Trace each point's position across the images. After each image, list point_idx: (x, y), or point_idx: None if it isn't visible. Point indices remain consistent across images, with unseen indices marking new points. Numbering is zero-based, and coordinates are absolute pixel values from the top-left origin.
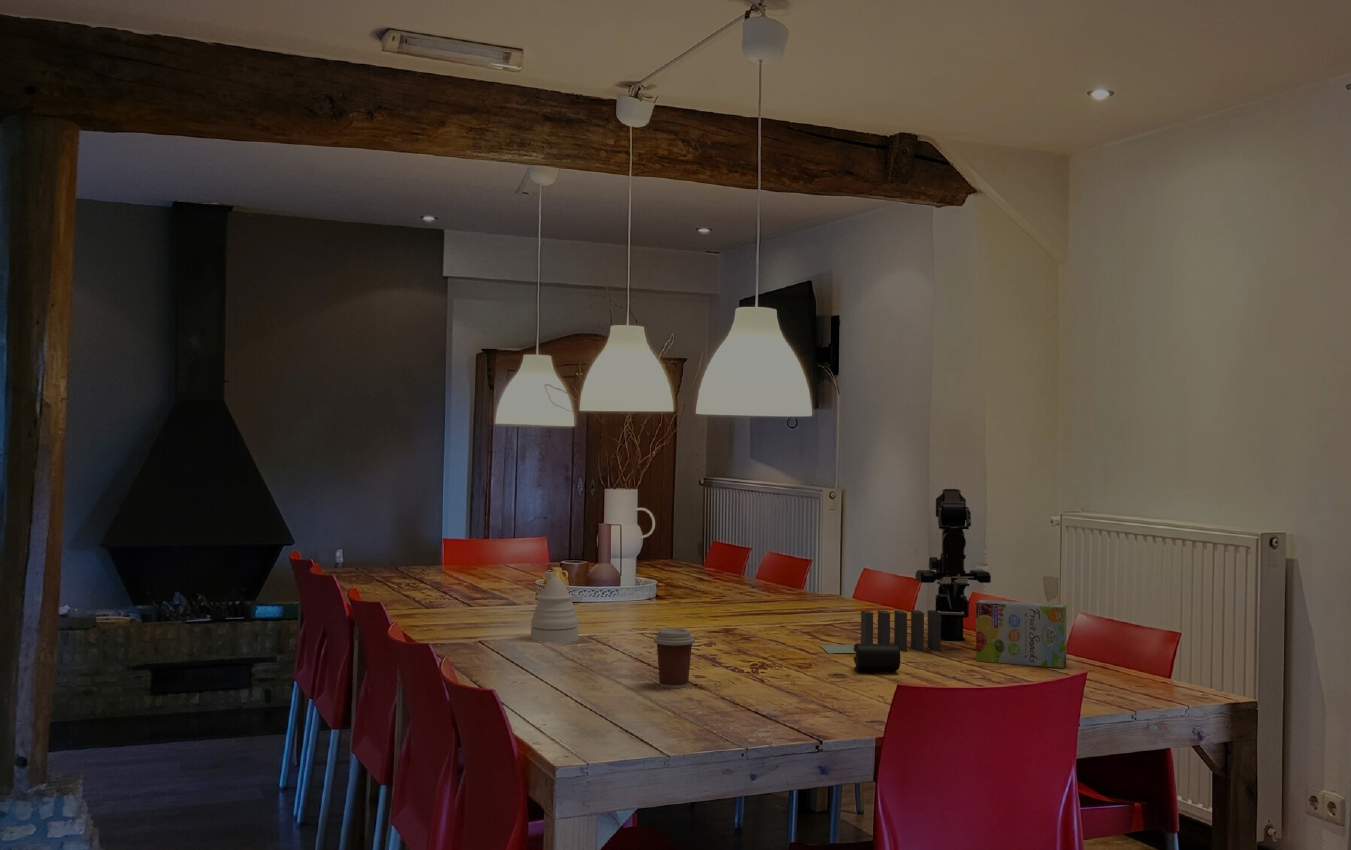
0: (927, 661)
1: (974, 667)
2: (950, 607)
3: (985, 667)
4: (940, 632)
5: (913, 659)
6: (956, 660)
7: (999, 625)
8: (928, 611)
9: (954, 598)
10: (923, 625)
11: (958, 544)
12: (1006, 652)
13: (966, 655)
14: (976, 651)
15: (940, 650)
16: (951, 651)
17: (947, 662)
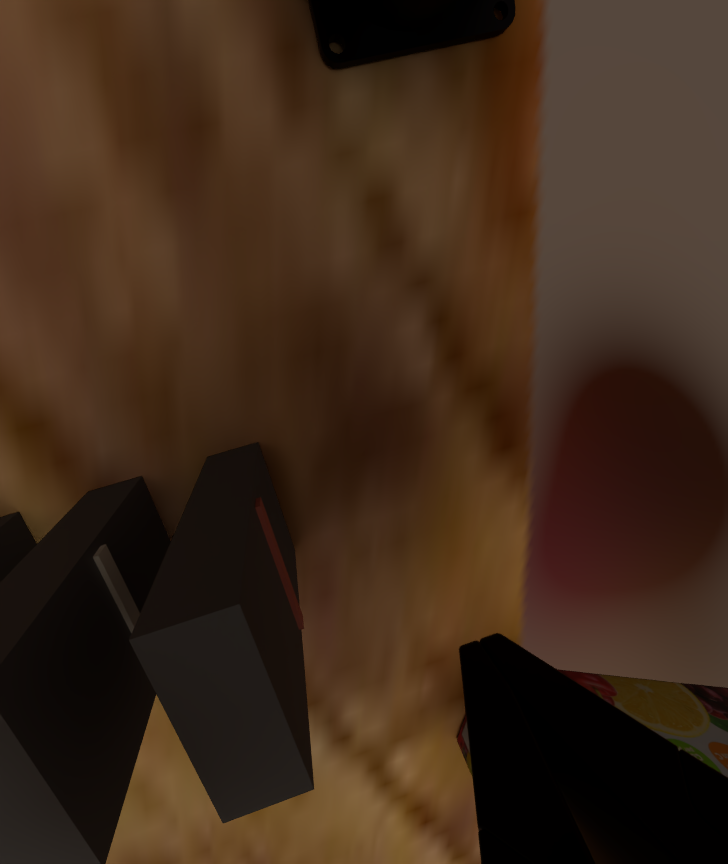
0: (224, 829)
1: (428, 858)
2: (461, 664)
3: (472, 840)
4: (299, 630)
5: (147, 814)
6: (366, 757)
7: None
8: (148, 663)
9: (590, 843)
10: (141, 731)
11: None
12: None
13: (430, 621)
14: None
15: (294, 553)
16: (360, 531)
17: (320, 813)
